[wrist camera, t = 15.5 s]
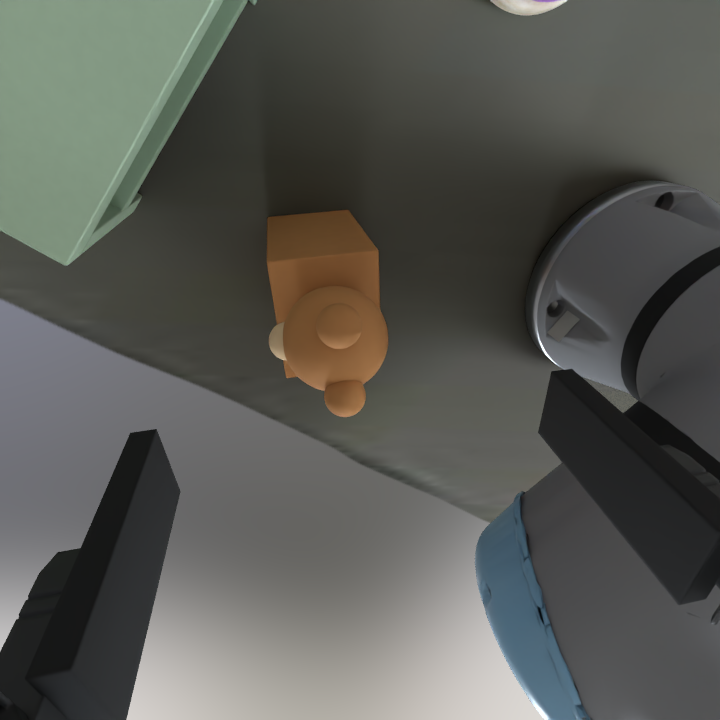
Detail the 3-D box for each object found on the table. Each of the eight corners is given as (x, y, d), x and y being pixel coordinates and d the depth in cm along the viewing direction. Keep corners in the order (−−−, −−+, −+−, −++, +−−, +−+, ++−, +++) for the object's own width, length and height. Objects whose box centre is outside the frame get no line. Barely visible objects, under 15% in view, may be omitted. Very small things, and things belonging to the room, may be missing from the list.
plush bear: (348, 209, 28) (410, 291, 16) (354, 301, 31) (408, 426, 19) (260, 217, 27) (254, 309, 15) (275, 310, 30) (281, 447, 18)
